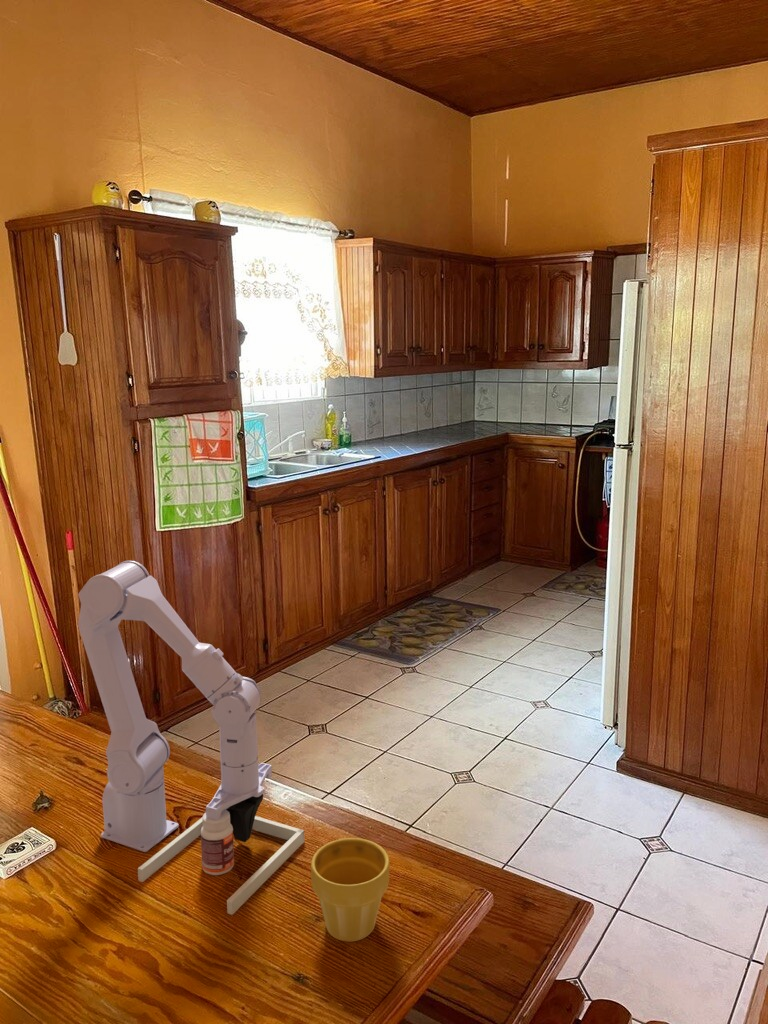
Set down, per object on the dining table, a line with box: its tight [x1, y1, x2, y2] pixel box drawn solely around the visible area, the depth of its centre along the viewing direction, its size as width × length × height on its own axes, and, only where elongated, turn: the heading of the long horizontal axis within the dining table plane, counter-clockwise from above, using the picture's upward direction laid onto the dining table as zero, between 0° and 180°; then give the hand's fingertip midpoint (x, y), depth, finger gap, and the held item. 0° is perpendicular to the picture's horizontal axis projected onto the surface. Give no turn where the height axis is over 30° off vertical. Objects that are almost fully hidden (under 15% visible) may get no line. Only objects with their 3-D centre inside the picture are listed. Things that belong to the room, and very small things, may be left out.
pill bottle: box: [200, 810, 235, 876], centre depth 119 cm, size 5×5×8 cm
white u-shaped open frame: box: [137, 815, 305, 916], centre depth 121 cm, size 17×19×2 cm
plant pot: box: [310, 837, 390, 943], centre depth 106 cm, size 10×10×10 cm
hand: (242, 838), depth 125 cm, fingers closed
